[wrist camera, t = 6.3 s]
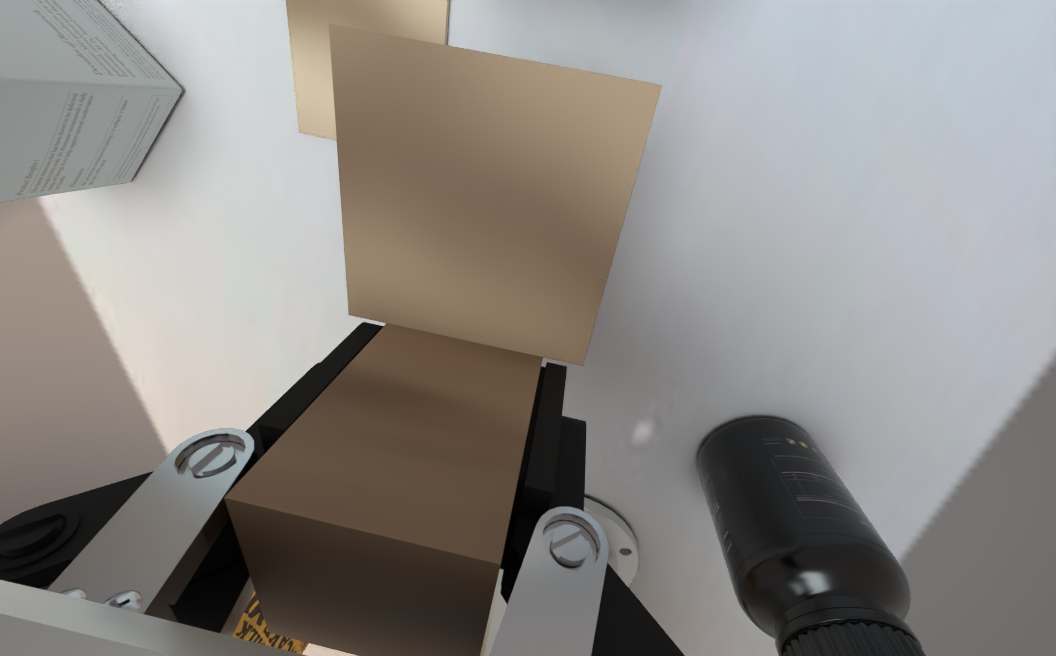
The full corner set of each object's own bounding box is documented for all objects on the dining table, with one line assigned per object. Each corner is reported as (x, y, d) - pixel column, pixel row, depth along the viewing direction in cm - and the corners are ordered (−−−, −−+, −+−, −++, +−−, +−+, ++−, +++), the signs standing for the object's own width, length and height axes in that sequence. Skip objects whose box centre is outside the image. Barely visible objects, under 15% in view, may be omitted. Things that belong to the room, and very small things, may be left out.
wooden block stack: (554, 454, 13) (525, 698, 8) (369, 412, 13) (219, 620, 8) (656, 86, 8) (782, 57, 3) (351, 30, 8) (-105, -104, 3)
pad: (440, 159, 20) (438, 160, 19) (302, 132, 20) (299, 132, 20) (454, -94, 15) (452, -98, 15) (278, -124, 16) (272, -128, 15)
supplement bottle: (773, 506, 27) (886, 757, 17) (676, 474, 27) (728, 706, 16) (841, 434, 24) (1037, 691, 13) (731, 397, 24) (839, 626, 13)
